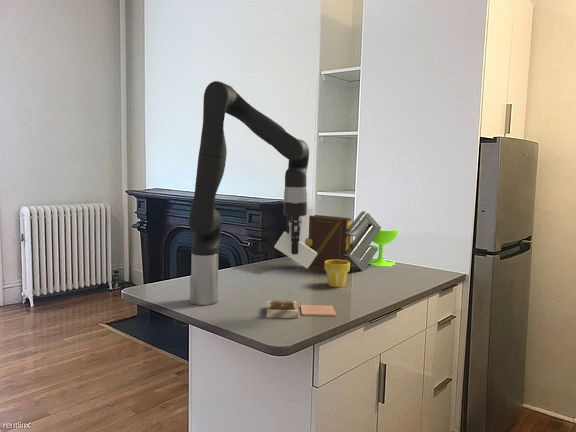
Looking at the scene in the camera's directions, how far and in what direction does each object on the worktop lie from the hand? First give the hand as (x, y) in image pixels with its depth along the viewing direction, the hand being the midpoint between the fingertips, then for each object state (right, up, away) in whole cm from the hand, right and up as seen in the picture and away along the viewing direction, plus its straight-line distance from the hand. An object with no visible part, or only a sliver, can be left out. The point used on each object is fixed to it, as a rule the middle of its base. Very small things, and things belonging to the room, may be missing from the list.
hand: (294, 253), depth 162 cm
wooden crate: (+16, -13, +67) cm, 70 cm away
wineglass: (+44, -12, +84) cm, 96 cm away
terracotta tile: (+8, -20, +2) cm, 21 cm away
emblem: (+32, -14, +68) cm, 76 cm away
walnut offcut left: (-6, -19, -3) cm, 20 cm away
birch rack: (-4, -20, 0) cm, 20 cm away
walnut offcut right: (-2, -19, -3) cm, 19 cm away
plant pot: (+18, -16, +38) cm, 45 cm away
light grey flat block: (+6, -3, 0) cm, 6 cm away
